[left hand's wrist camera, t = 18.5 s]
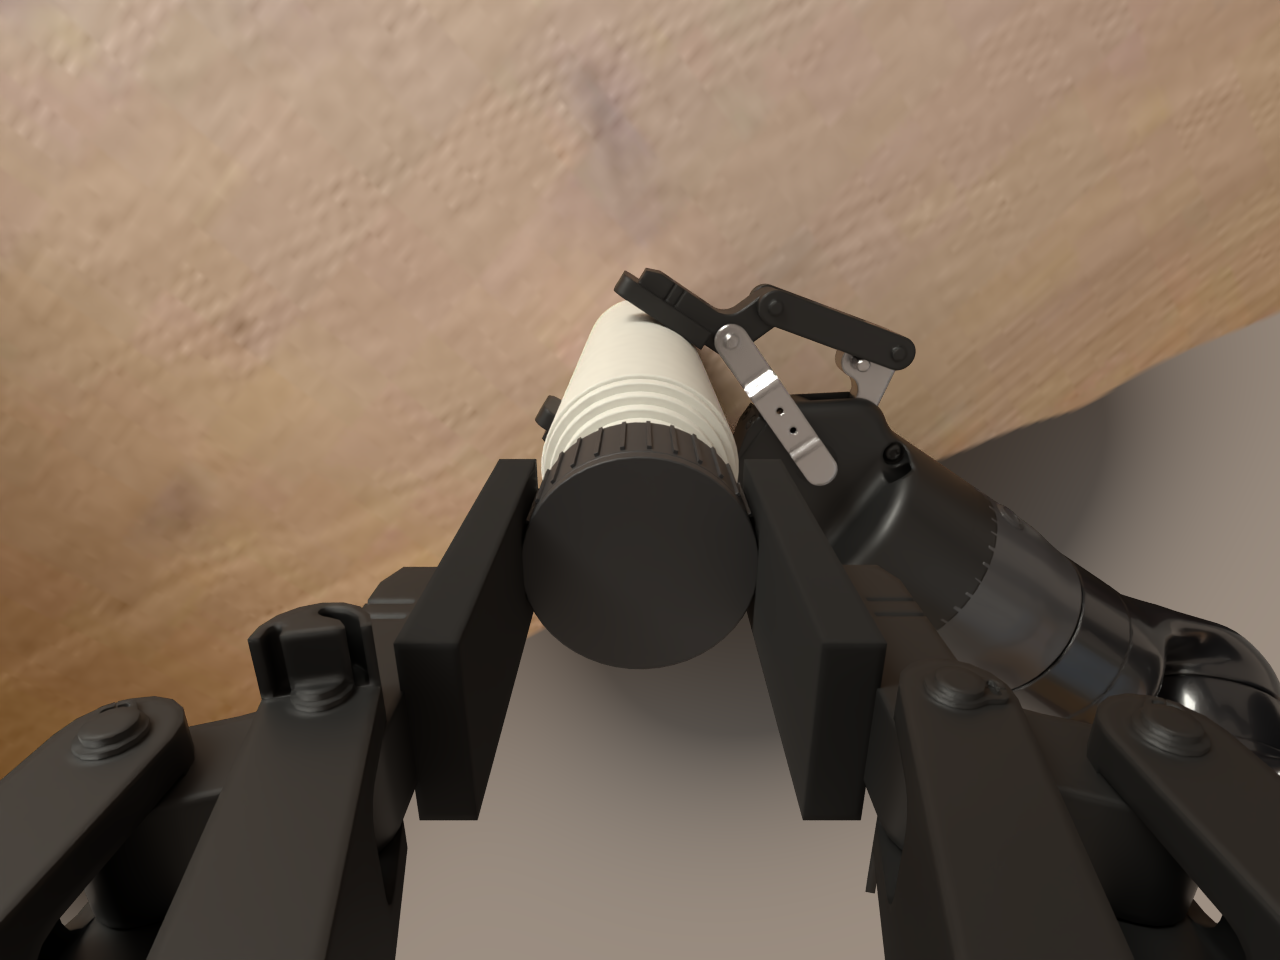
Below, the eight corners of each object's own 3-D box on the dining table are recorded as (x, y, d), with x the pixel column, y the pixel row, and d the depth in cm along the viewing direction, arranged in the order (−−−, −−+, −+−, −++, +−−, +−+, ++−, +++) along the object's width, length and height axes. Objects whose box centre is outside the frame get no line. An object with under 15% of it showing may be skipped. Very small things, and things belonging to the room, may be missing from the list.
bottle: (714, 343, 32) (825, 532, 13) (649, 423, 34) (661, 703, 14) (630, 275, 31) (614, 372, 12) (566, 361, 33) (458, 573, 13)
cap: (575, 634, 16) (565, 696, 13) (502, 455, 14) (478, 495, 12) (767, 582, 15) (787, 638, 13) (714, 390, 14) (726, 421, 12)
